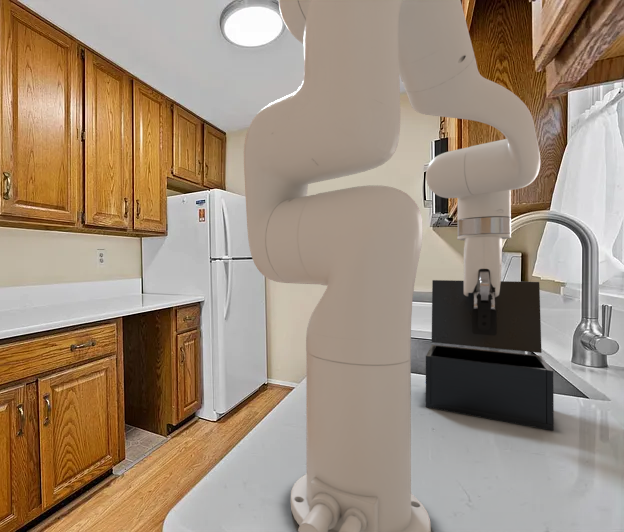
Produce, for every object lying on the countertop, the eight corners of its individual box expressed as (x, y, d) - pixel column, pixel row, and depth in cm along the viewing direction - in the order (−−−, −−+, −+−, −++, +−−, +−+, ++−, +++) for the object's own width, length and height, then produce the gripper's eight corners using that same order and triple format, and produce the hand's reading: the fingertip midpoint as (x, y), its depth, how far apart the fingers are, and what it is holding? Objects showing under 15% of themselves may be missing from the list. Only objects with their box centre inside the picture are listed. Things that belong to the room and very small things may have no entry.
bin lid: (539, 281, 66) (535, 286, 70) (432, 280, 75) (434, 284, 79) (541, 352, 64) (537, 352, 68) (431, 342, 73) (433, 342, 78)
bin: (553, 430, 54) (553, 370, 54) (425, 407, 64) (425, 356, 64) (541, 406, 64) (541, 355, 64) (431, 389, 73) (431, 344, 73)
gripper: (458, 235, 73) (458, 322, 73) (455, 226, 58) (455, 335, 58) (506, 233, 69) (506, 326, 68) (516, 223, 54) (516, 340, 54)
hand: (483, 330), depth 63 cm, fingers open, 9 cm apart
